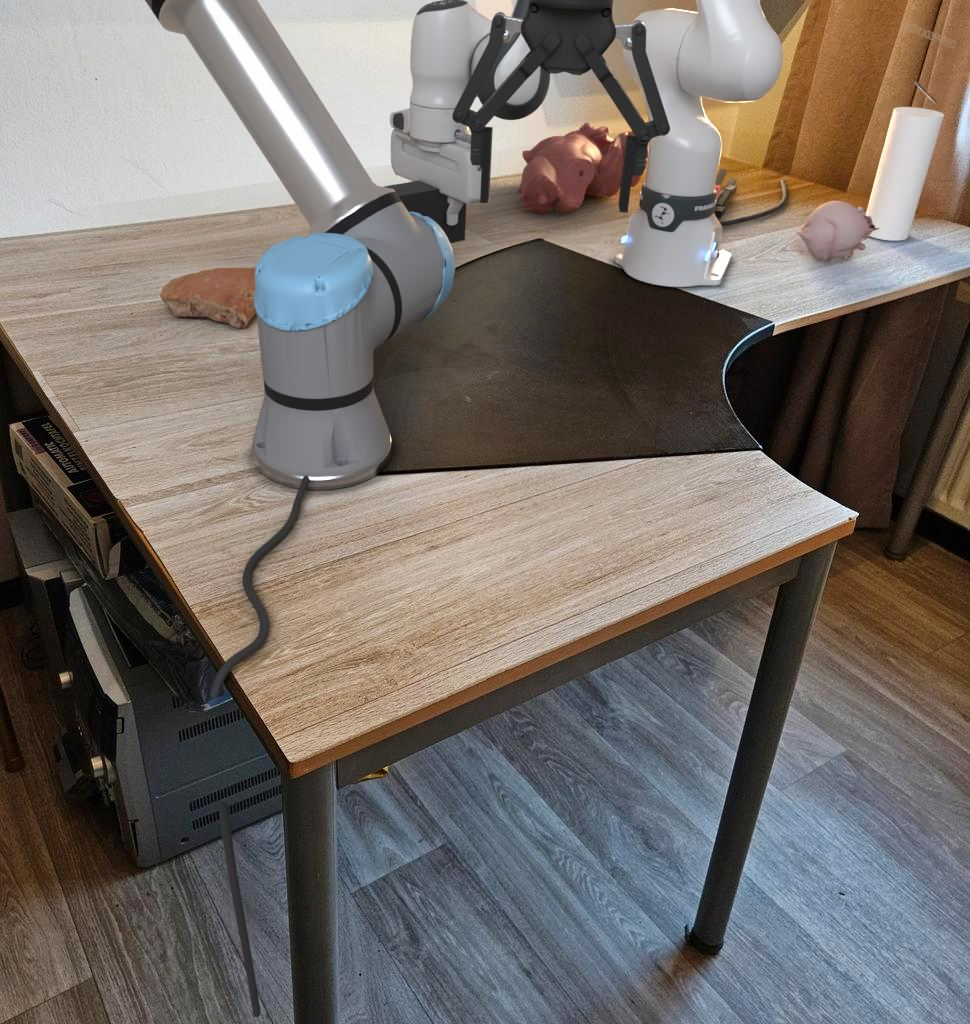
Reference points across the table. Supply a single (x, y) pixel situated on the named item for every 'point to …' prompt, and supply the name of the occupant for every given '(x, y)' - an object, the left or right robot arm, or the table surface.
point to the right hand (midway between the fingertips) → (437, 218)
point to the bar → (431, 206)
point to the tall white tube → (903, 167)
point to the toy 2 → (836, 230)
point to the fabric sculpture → (573, 169)
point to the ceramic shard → (213, 295)
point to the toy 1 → (724, 192)
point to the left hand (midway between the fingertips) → (553, 204)
